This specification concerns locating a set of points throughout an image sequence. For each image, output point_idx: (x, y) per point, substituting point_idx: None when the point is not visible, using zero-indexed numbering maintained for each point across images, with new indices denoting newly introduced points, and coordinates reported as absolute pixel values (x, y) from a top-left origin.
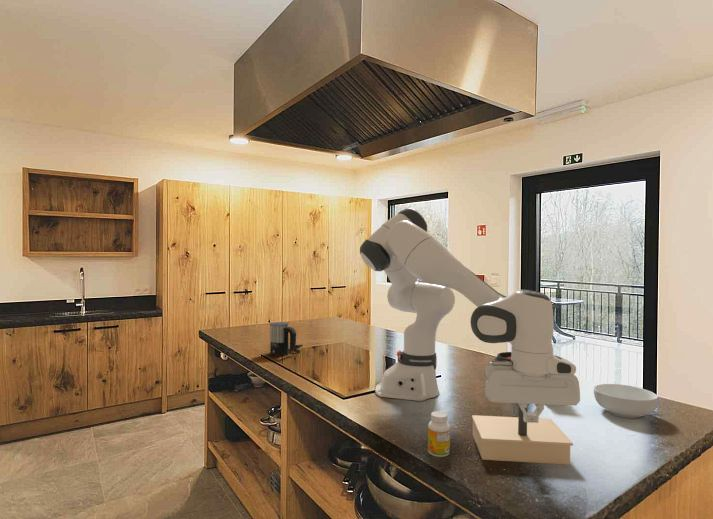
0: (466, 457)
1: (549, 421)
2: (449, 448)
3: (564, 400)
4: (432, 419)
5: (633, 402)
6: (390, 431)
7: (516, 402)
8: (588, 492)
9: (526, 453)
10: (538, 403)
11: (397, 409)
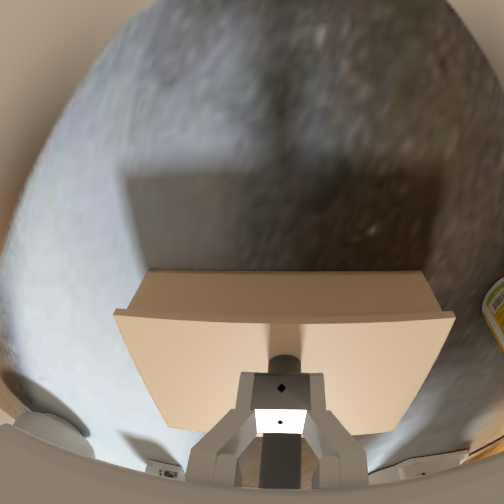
0: (453, 285)
1: (173, 419)
2: (496, 301)
3: (41, 469)
4: None
5: (34, 431)
6: None
7: (417, 481)
8: (124, 117)
9: (284, 293)
10: (231, 490)
11: (468, 429)
